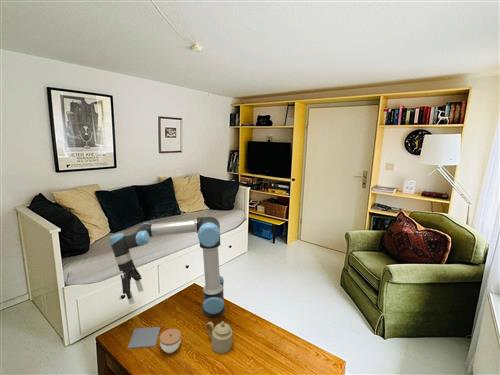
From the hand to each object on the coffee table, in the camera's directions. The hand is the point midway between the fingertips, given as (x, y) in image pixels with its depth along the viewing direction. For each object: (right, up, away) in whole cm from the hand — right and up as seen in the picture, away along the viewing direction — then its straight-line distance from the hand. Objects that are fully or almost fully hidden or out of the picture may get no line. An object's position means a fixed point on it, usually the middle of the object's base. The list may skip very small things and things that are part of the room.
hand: (137, 297), depth 145 cm
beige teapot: (+45, -25, -3) cm, 52 cm away
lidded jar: (+21, -25, -7) cm, 33 cm away
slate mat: (+5, -22, -1) cm, 23 cm away
